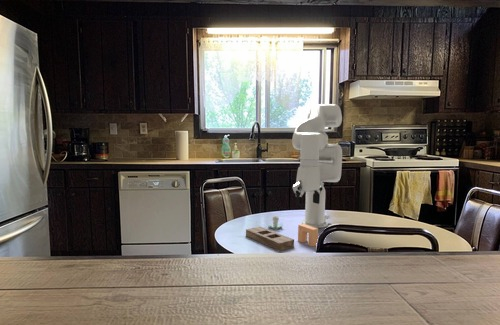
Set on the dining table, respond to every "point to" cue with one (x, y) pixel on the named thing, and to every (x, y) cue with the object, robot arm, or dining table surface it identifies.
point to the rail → (270, 238)
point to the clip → (302, 234)
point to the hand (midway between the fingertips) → (308, 204)
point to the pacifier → (275, 223)
